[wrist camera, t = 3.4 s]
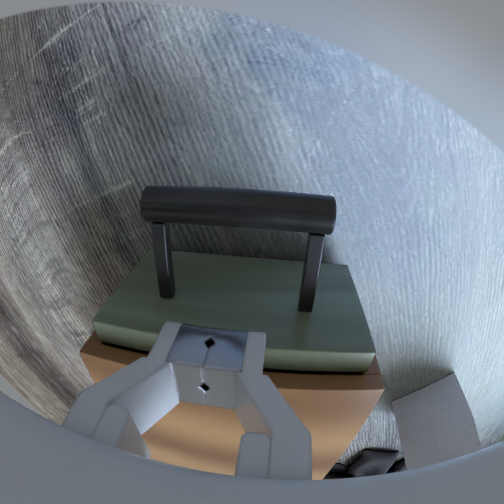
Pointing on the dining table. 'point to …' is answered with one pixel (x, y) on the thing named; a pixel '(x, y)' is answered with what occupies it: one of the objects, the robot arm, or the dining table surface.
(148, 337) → the drawer
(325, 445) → the cabinet
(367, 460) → the cloth
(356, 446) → the dining table surface
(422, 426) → the light grey paper bag
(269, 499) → the robot arm
